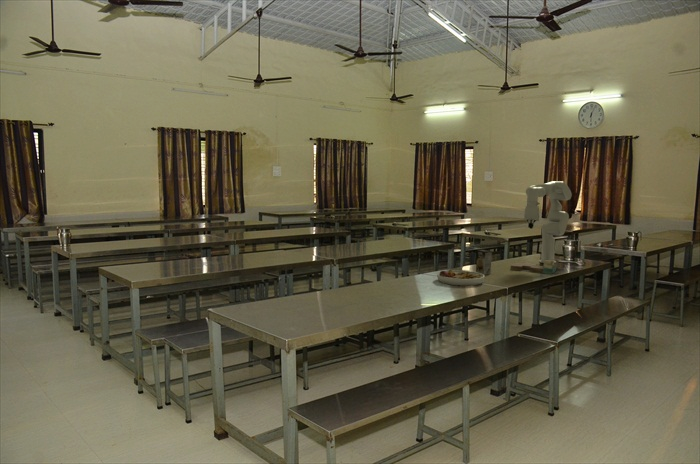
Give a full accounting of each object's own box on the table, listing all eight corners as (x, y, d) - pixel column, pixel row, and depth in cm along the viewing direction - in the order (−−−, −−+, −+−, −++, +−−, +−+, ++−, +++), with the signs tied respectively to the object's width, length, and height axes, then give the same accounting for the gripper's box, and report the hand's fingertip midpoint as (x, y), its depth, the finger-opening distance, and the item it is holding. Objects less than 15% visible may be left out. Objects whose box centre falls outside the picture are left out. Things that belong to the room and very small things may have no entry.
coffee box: (475, 272, 376) (476, 249, 374) (482, 271, 378) (483, 249, 377) (483, 274, 368) (484, 251, 366) (491, 273, 370) (492, 251, 368)
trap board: (515, 266, 402) (516, 262, 402) (556, 270, 388) (556, 266, 388) (510, 269, 388) (510, 265, 387) (552, 273, 373) (552, 269, 373)
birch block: (547, 266, 384) (547, 259, 384) (553, 267, 380) (554, 260, 380) (543, 267, 381) (543, 260, 380) (549, 268, 377) (550, 261, 377)
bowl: (467, 276, 362) (467, 265, 361) (494, 285, 334) (494, 272, 333) (428, 279, 351) (428, 267, 350) (452, 288, 323) (453, 275, 322)
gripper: (543, 204, 395) (542, 228, 397) (523, 203, 403) (521, 227, 405) (541, 204, 389) (540, 229, 391) (520, 203, 396) (519, 228, 398)
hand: (531, 228), depth 398 cm, fingers closed
